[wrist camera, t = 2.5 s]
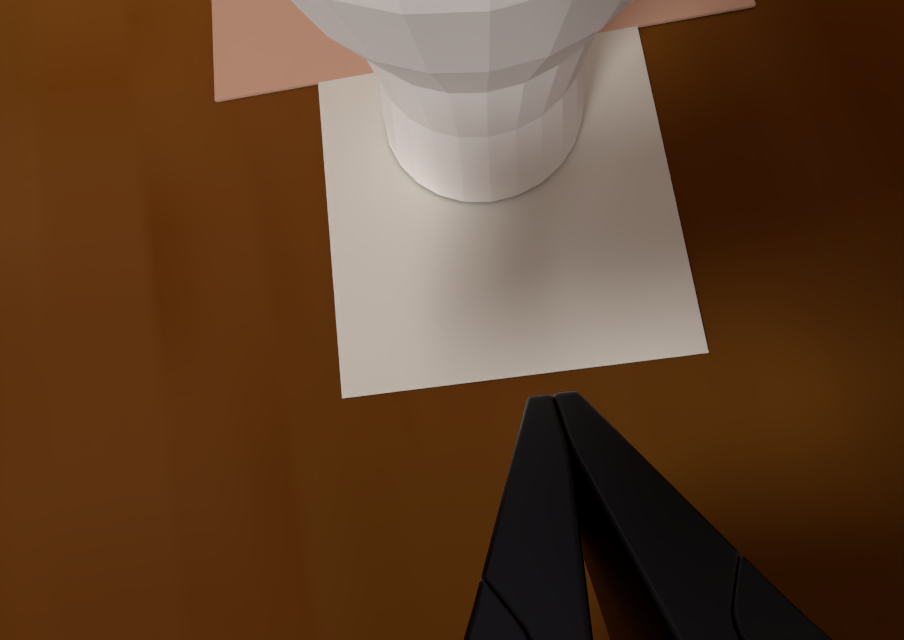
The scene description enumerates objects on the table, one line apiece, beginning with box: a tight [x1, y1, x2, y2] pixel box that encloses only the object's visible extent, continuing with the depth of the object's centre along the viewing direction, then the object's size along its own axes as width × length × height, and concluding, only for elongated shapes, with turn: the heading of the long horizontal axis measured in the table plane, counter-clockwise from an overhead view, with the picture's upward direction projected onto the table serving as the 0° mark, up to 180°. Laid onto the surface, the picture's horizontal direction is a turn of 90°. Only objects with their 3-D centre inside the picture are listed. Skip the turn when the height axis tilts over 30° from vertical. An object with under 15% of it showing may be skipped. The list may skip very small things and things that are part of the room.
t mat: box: [212, 0, 756, 398], centre depth 19 cm, size 21×22×1 cm
